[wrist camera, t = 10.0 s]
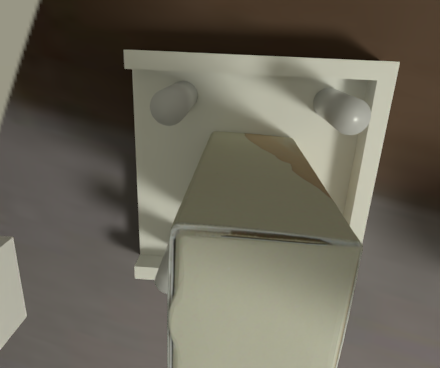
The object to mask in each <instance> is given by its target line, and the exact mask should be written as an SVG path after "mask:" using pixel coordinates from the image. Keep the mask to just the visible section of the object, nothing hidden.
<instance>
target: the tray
mask: <svg viewBox="0 0 440 368" xmlns="http://www.w3.org/2000/svg"><path fill="white" fill-rule="evenodd" d="M123 51H124V69H132V78H133V101H134V124H135V147H136V170H137V193H138V216H139V239H140V256H139V258H138V260H137V262H136V264H135V266H134V268H135V279H148V280H155V285H156V287H157V288H158V289H159V290H160V291H161V292H163V293H165V294H168V258H169V236H170V230H171V227H172V225H173V222H174V219H175V217H176V214H177V212H178V209H179V207H180V205H181V203H182V200H183V198H184V196H185V193H186V191H187V189H188V186H189V184H190V182H191V179H192V177H193V175H194V172H195V170H196V168H197V166H198V163H199V161H200V158H201V156H202V154H203V151H204V149H205V147H206V145H207V142H208V140H209V138H210V135H211V133H212V132H214V131H220V132H236V133H249V134H260V135H270V136H279V137H288V138H292V139H293V140H294V141H295V143H296V144H297V146H298V147H299V149H300V150H301V152H302V153H303V155H304V156H305V158H306V159H307V161H308V162H309V164H310V166H311V167H312V169H313V170H314V172H315V173H316V175H317V176H318V178H319V179H320V181H321V183H322V184H323V186H324V187H325V189H326V190H327V192H328V193H329V195H330V196H331V198H332V200H333V201H334V203H335V204H336V206H337V207H338V209H339V210H340V212H341V213H342V215H343V217H344V218H345V220H346V221H347V223H348V224H349V226H350V227H351V229H352V230H353V232H354V233H355V235H356V236H357V238H358V239H359V240H360V242H361V243H362V242H363V237H364V232H365V227H366V223H367V218H368V213H369V208H370V203H371V199H372V194H373V189H374V184H375V179H376V175H377V170H378V165H379V160H380V155H381V150H382V146H383V141H384V136H385V131H386V126H387V122H388V117H389V112H390V107H391V102H392V98H393V93H394V88H395V83H396V78H397V73H398V69H399V64H400V62H392V61H375V60H353V59H330V58H308V57H285V56H263V55H240V54H218V53H196V52H173V51H151V50H123Z"/></svg>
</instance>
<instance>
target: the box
mask: <svg viewBox="0 0 440 368" xmlns="http://www.w3.org/2000/svg"><path fill="white" fill-rule="evenodd" d="M362 251H363V246H362V243H361V242H360V240H359V239H358V238H357V236H356V235H355V233H354V232H353V230H352V229H351V227H350V226H349V224H348V223H347V221H346V220H345V218H344V217H343V215H342V213H341V212H340V210H339V209H338V207H337V206H336V204H335V203H334V201H333V200H332V198H331V196H330V195H329V193H328V192H327V190H326V189H325V187H324V186H323V184H322V183H321V181H320V179H319V178H318V176H317V175H316V173H315V172H314V170H313V169H312V167H311V166H310V164H309V162H308V161H307V159H306V158H305V156H304V155H303V153H302V152H301V150H300V149H299V147H298V146H297V144H296V143H295V141H294V140H293V139H292V138H288V137H279V136H270V135H260V134H249V133H236V132H220V131H214V132H212V133H211V135H210V138H209V140H208V142H207V145H206V147H205V149H204V151H203V154H202V156H201V158H200V161H199V163H198V166H197V168H196V170H195V172H194V175H193V177H192V179H191V182H190V184H189V186H188V189H187V191H186V193H185V196H184V198H183V200H182V203H181V205H180V207H179V209H178V212H177V214H176V217H175V219H174V222H173V225H172V227H171V230H170V236H169V258H168V312H167V368H337V365H338V361H339V358H340V353H341V349H342V345H343V341H344V337H345V332H346V327H347V322H348V318H349V314H350V308H351V304H352V299H353V294H354V290H355V285H356V280H357V275H358V269H359V264H360V259H361V255H362Z"/></svg>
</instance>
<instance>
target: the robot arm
mask: <svg viewBox="0 0 440 368" xmlns="http://www.w3.org/2000/svg"><path fill="white" fill-rule="evenodd" d="M26 317H27V314H26V309H25V303H24V297H23V291H22V286H21V280H20V274H19V268H18V263H17V257H16V251H15V246H14V240H13V237H4V236H0V349H1V348H2V347H3V346H4V344H5V343H6V342H7V341H8V339H9V338H10V337H11V336H12V334H13V333H14V332H15V331H16V329H17V328H18V327H19V326H20V324H21V323H22V322H23V321H24V319H25V318H26Z"/></svg>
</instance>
